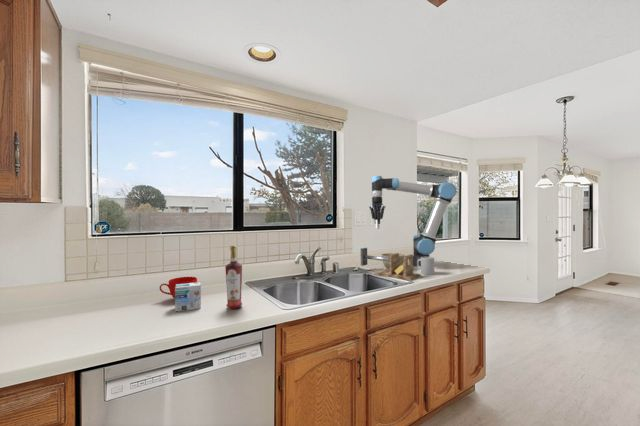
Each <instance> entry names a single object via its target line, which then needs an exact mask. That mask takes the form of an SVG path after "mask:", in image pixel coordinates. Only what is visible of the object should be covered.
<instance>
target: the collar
mask: <svg viewBox="0 0 640 426" xmlns="http://www.w3.org/2000/svg"><path fill="white" fill-rule="evenodd" d="M395 272H396V274H397V275H398V274H401V273H403V272H404V269H403V264H402V265H401V266H399V267H398V268H397V269H396V270H395Z"/></svg>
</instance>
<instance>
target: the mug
mask: <svg viewBox="0 0 640 426" xmlns="http://www.w3.org/2000/svg"><path fill="white" fill-rule="evenodd" d="M419 261H421V267H420V266H419ZM416 267H417V268H418V269H420V274H421V275H422V276H435V258H434V257H433V256H430V257H421V259H418V261H417V266H416Z"/></svg>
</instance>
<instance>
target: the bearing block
mask: <svg viewBox="0 0 640 426" xmlns="http://www.w3.org/2000/svg"><path fill="white" fill-rule="evenodd" d="M399 254H400V253H399V252H397V253H395V254H391V255H389V270H387V269H386V268H385V269H382V270H378V271H375V272H373V275H374V276H380V277H387V278H391V279H399V280H404V279H405V280H404V281H410V280H411V281H413V280H416V279H418V278H421V277H422V274H421V273H415V272H414V266H413V255H414V254H407V255H405V256H403V269H404V272H403V273H401V274H398V275H397V274H396V272H395V270H396V269H397V268H398V267H399ZM394 257H395V259H396V261H395V263H394Z"/></svg>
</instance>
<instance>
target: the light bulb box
mask: <svg viewBox="0 0 640 426" xmlns="http://www.w3.org/2000/svg"><path fill="white" fill-rule="evenodd" d="M201 284H202V283H201V282H200V281H197V282H196V283H186V284H176V287H175V299H174V311H175V313H176V311H178V312H183V311H185V310H186V311H192V310H193V311H194V310H201V308H202V303H201V302H202V287H201Z"/></svg>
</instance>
